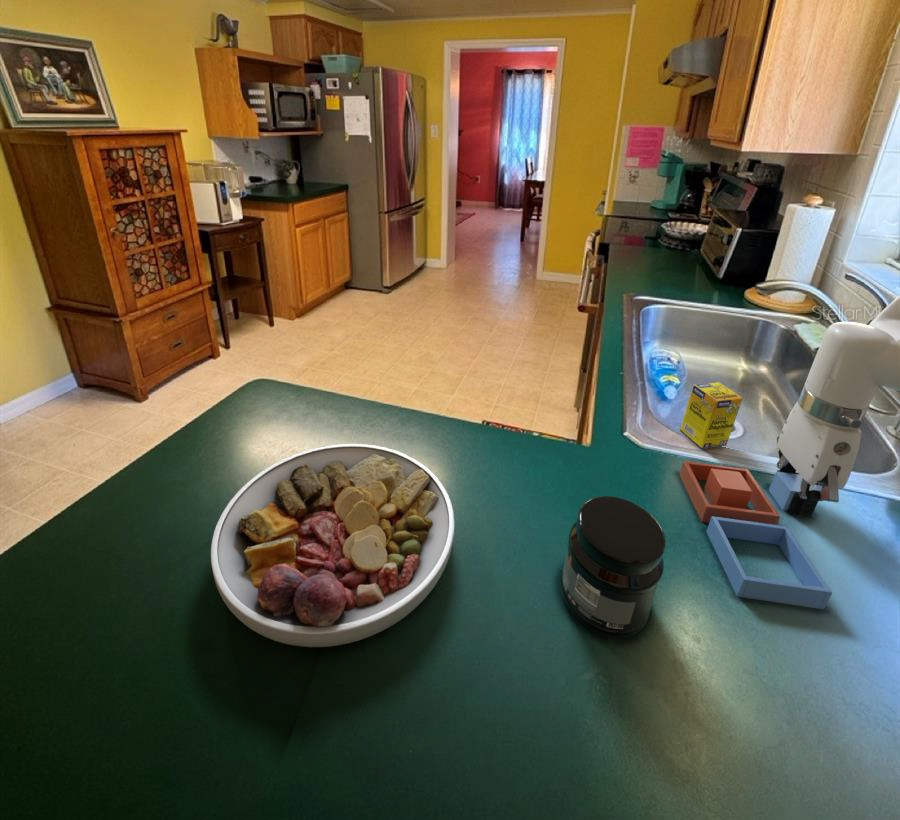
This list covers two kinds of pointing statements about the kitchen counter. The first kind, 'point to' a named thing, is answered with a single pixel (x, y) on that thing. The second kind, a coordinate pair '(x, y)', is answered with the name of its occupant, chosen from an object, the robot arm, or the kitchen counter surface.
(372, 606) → the bowl
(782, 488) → the blue block
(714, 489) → the terracotta block
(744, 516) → the terracotta bin
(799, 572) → the blue bin
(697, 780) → the kitchen counter surface
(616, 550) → the supplement container
